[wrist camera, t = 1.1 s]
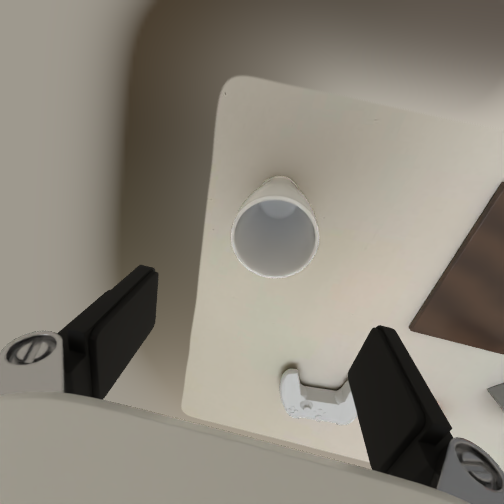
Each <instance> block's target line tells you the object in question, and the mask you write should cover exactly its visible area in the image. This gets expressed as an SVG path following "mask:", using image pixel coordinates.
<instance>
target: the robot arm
mask: <svg viewBox="0 0 504 504" xmlns="http://www.w3.org/2000/svg"><path fill="white" fill-rule="evenodd" d="M157 289H158V273H157V272H155V269H154V268H152V267H148V266H144V265H139V266H138V267H137V268H136V269H135V270H133V271H132V272H131V273H130V274H129V275H128V276H126V277H125V278H124V279H123V280H122V281H121V282H120V283H118V284H117V285H116V286H115V287H114V288H113V289H111V290H108V291H107V292H105V293H104V294H103V295H102V296H101V297H99V298H98V299H97V300H96V301H95V302H94V303H93V304H91V305H90V306H89V307H88V308H87V309H85V310H84V311H83V312H82V313H81V314H80V315H78V316H77V317H76V318H75V319H74V320H72V321H71V322H70V323H69V324H68V325H67V326H66V327H64V328H63V329H62V330H61V331H60V332H58V333H55V332H52V331H37V332H32V333H28V334H25V335H23V336H20V337H18V338H16V339H14V340H13V341H11V342H10V343H8V344H7V345H6V346H5V347H4V348H3V349H2V350H1V353H0V504H504V472H503V471H502V470H501V468H500V467H499V465H498V464H497V463H496V462H495V461H494V460H493V459H492V458H491V457H490V455H488V454H487V453H486V452H485V451H484V450H483V449H481V448H480V447H479V446H477V445H475V444H474V443H472V442H470V441H468V440H466V439H464V438H458V437H456V438H453V437H452V435H451V433H450V430H451V429H452V427H451V425H450V424H449V422H448V420H447V419H446V417H445V415H444V413H443V412H442V410H441V408H440V407H439V405H438V403H437V401H436V400H435V398H434V396H433V394H432V393H431V391H430V389H429V388H428V386H427V384H426V382H425V381H424V379H423V377H422V376H421V374H420V372H419V370H418V369H417V367H416V365H415V363H414V362H413V360H412V358H411V357H410V355H409V353H408V351H407V350H406V348H405V346H404V345H403V343H402V341H401V339H400V338H399V336H398V334H397V332H396V331H395V330H394V329H392V328H388V327H384V326H381V325H379V326H377V327H376V328H372V330H371V331H370V333H369V335H368V337H367V339H366V340H365V342H364V344H363V346H362V348H361V350H360V351H359V353H358V355H357V357H356V359H355V361H354V362H353V364H352V366H351V368H350V370H349V372H348V381H349V385H350V389H351V393H352V396H353V400H354V404H355V408H356V412H357V415H358V419H359V423H360V427H361V430H362V434H363V438H364V442H365V446H366V449H367V453H368V457H369V461H370V464H371V468H372V470H371V469H367V468H364V467H360V466H356V465H352V464H349V463H345V462H341V461H338V460H333V459H330V458H326V457H323V456H319V455H315V454H312V453H308V452H304V451H301V450H297V449H293V448H289V447H285V446H282V445H278V444H274V443H270V442H266V441H263V440H259V439H255V438H251V437H247V436H244V435H240V434H236V433H232V432H229V431H225V430H221V429H217V428H213V427H209V426H205V425H202V424H198V423H194V422H190V421H186V420H182V419H178V418H174V417H170V416H167V415H163V414H159V413H155V412H151V411H147V410H143V409H139V408H135V407H131V406H127V405H122V404H118V403H114V402H109V401H106V400H102V399H103V398H104V397H105V396H106V395H107V393H108V392H109V390H110V389H111V388H112V386H113V385H114V383H115V382H116V380H117V379H118V378H119V376H120V374H121V373H122V372H123V370H124V369H125V368H126V366H127V365H128V363H129V362H130V360H131V359H132V358H133V356H134V354H135V353H136V352H137V350H138V349H139V348H140V346H141V345H142V343H143V341H144V340H145V339H146V337H147V336H148V335H149V333H150V332H151V330H152V329H153V327H154V324H155V318H156V303H157Z"/></svg>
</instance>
